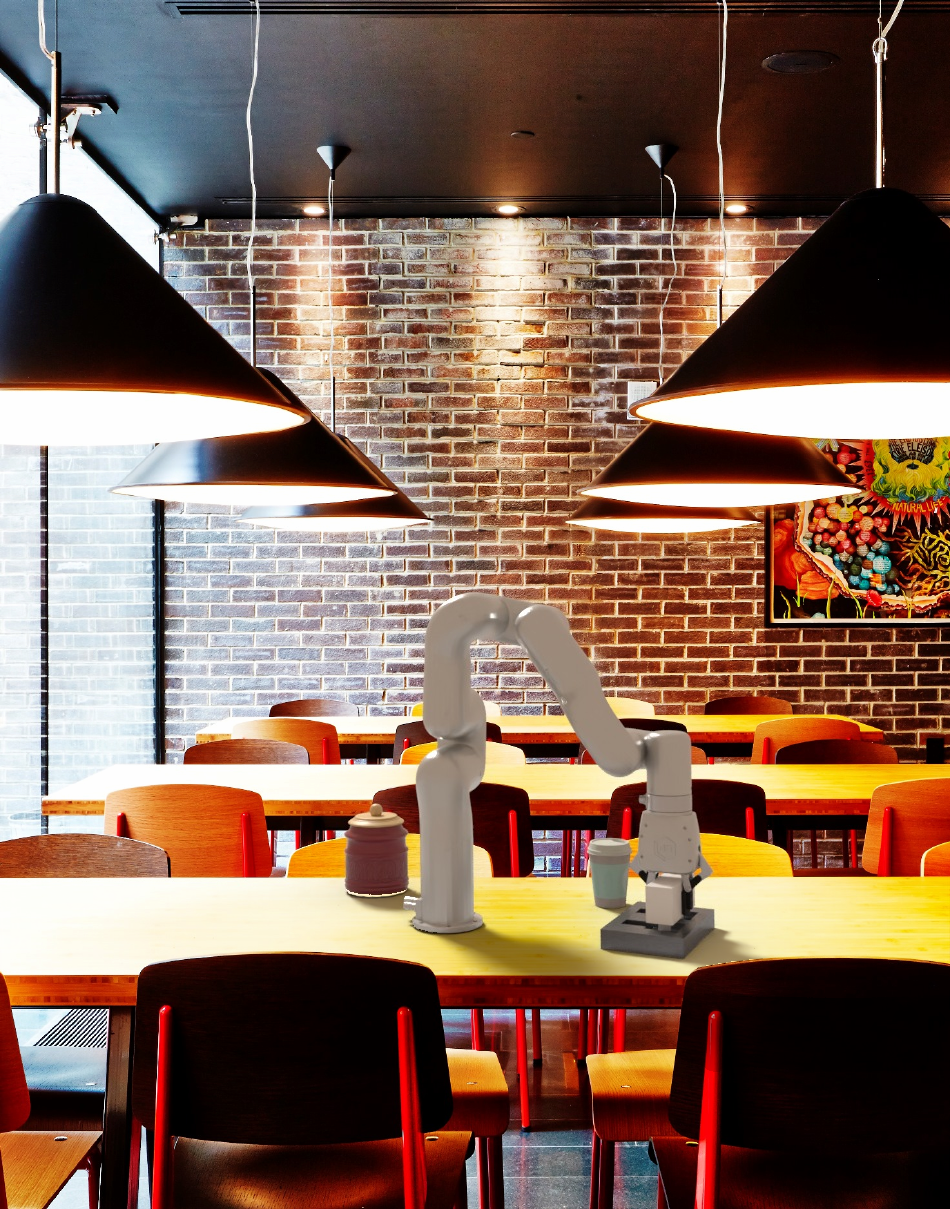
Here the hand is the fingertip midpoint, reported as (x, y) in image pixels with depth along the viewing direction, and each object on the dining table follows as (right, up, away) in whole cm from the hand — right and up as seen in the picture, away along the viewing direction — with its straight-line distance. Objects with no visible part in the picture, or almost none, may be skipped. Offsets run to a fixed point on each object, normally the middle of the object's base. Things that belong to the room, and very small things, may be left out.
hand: (671, 910), depth 188 cm
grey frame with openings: (-2, -5, +1) cm, 5 cm away
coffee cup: (-7, -6, +24) cm, 25 cm away
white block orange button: (0, -4, 0) cm, 4 cm away
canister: (-53, -6, +37) cm, 65 cm away
